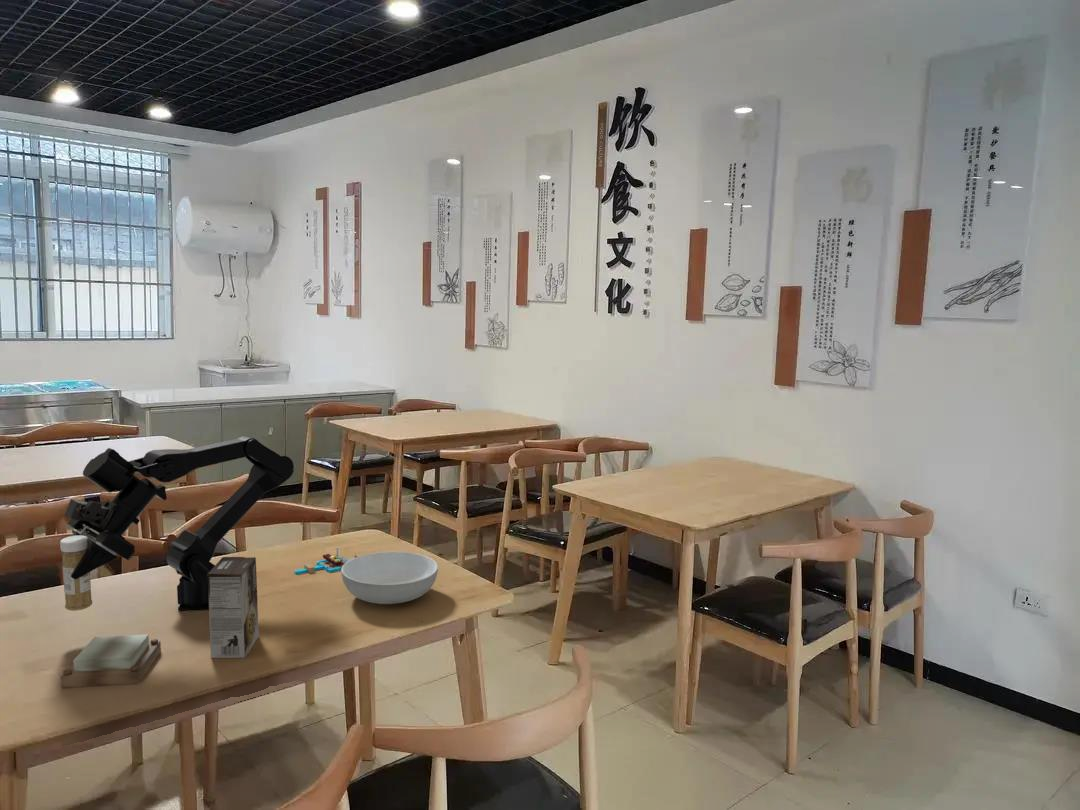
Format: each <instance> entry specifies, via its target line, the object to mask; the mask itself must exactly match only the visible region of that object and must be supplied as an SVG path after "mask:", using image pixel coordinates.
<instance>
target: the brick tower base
mask: <svg viewBox="0 0 1080 810" xmlns="http://www.w3.org/2000/svg"><path fill="white" fill-rule="evenodd" d="M149 639H150V638H149V634H133V635H132V634H130V635H115V636H114V635H111V636H109V635H108V636H94V637H93V638H92V639H91V640H90V642H89V643H88V644H86V646H84V648H83V649H82V650H81V651H80V652H79V653H78V655H76V657H75V658H74V659H73V661H72V663H71V664H70V665H69V666H68V667H67V669H65V670H63V672H62V674H61V675H60V676H59V677H60V688H62V689H64V688H79V687H80V688H82V687H96V686H98V685H100V686H112V685H113V686H117V685H129V684H140V682H141V681H142V679H143V678H144V677H145V675H146V674H147V672H148V671H149V669H150V668H151V666H152V665H153V664H154V662H155V660H156V659H157V658H158V656H159V655H160V653H161V652H162V648H161V646H162V644H161V640H159V639H158V638H153V639H151V640H149Z"/></svg>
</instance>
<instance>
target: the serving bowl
mask: <svg viewBox="0 0 1080 810" xmlns="http://www.w3.org/2000/svg"><path fill="white" fill-rule="evenodd" d="M362 555H363V556H359V557H356V558H355V557H353V558H350V559H351V560H349V559H348V560H349V561H348V562H346V563H345V564H344V565H341V566H342V569H341V570H340V571H341V577H342V578H341V579H342V582H343V584H344V587H345V588H346V590H347V591H348V592H349V593H350V594H351V595H352V596H354V597H355V598H357V599H359V600H361V601H363V602H367V603H371V604H378V605H394V604H401V603H403V604H404V603H406V602H411V601H413V600H415V599H418V598H420V597H423V595H425V594H426V593H427V592H429V591H430V589H432V587H433V586H434V584H435V582H436V580H437V576H438V573H439V564H438V563H437V562H436V561H435V560H434V559H432V558H431V557H429V556H426V555H423V554H420V553H415V552H406V551H380V552H379V551H378V552H373V553H368V554H362Z"/></svg>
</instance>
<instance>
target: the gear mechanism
mask: <svg viewBox="0 0 1080 810" xmlns="http://www.w3.org/2000/svg"><path fill="white" fill-rule="evenodd" d="M335 550H336V551H335V552H336V554H335V555H336V556H335V555H331V554H330V553H325V554H322V558H323V559H322V560H317V561H316V565H317V566H314V565H312V564H311V563H307V564H303V566H304V568H301V569H296V570H294V572H293V573H294V574H295V575H301V574H305V573H308V574H312V573H315V571H318V570H319V571H320V570H324V571H326V572H327V573H335V572H338V571H341V569H342V566H343V565H344V564H345V563H346V562H348V561H349V560H351V559H352V558H349V559H347V558H345V557H343V556H339V547H336V549H335ZM363 555H364V554H362V553H355V554H354V558H356V557H359V556H363Z"/></svg>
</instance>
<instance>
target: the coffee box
mask: <svg viewBox="0 0 1080 810" xmlns="http://www.w3.org/2000/svg"><path fill="white" fill-rule="evenodd" d="M214 565H215V566H214V567H213V569H212V570H211V571H210V572H209V573H208V574H207V575H208V595H209V609H208V612H209V614H208V616H209V617H208V618H209V641H210V642H209V643H210V645H209V646H210V658H211V659H235V658H236V659H242V658H243V659H244V658H247V656H248V654H249V653H250V651H251V649H252V648H253V646H254V644H255V643H256V642H257V639H258V638H259V635H260V634H259V633H260V631H259V608H258V607H259V606H258V584H257V583H258V581H257V558H256V556H254V557H250V556H249V557H245V556H223V557H221V558H220V559H219V560H218V562H216V564H214Z"/></svg>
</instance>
